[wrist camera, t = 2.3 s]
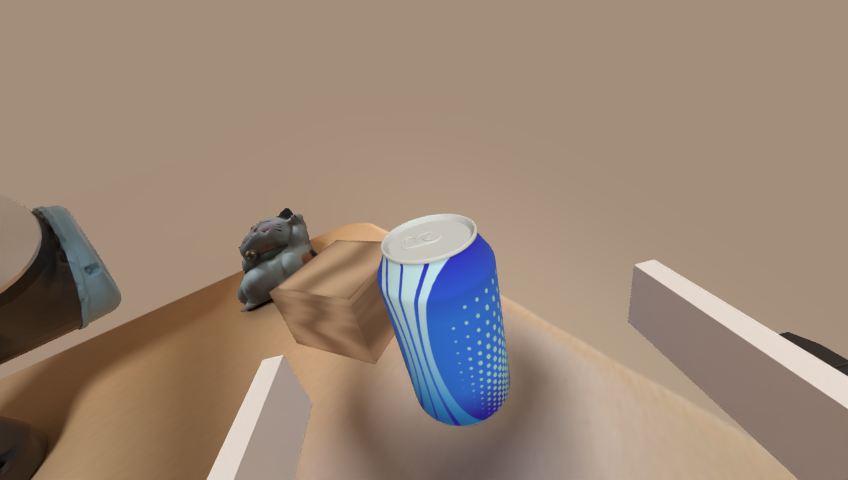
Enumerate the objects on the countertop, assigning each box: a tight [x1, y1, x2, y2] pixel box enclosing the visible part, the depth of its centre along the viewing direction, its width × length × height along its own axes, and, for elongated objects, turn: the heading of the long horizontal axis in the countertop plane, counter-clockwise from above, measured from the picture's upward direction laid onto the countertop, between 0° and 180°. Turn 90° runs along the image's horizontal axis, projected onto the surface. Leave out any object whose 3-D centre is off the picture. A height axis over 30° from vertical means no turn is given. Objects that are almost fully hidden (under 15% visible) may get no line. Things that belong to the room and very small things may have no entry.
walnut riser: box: [269, 240, 395, 364], centre depth 38 cm, size 12×12×8 cm
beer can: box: [377, 214, 510, 426], centre depth 24 cm, size 8×8×16 cm
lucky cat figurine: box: [238, 208, 318, 312], centre depth 49 cm, size 15×12×14 cm
